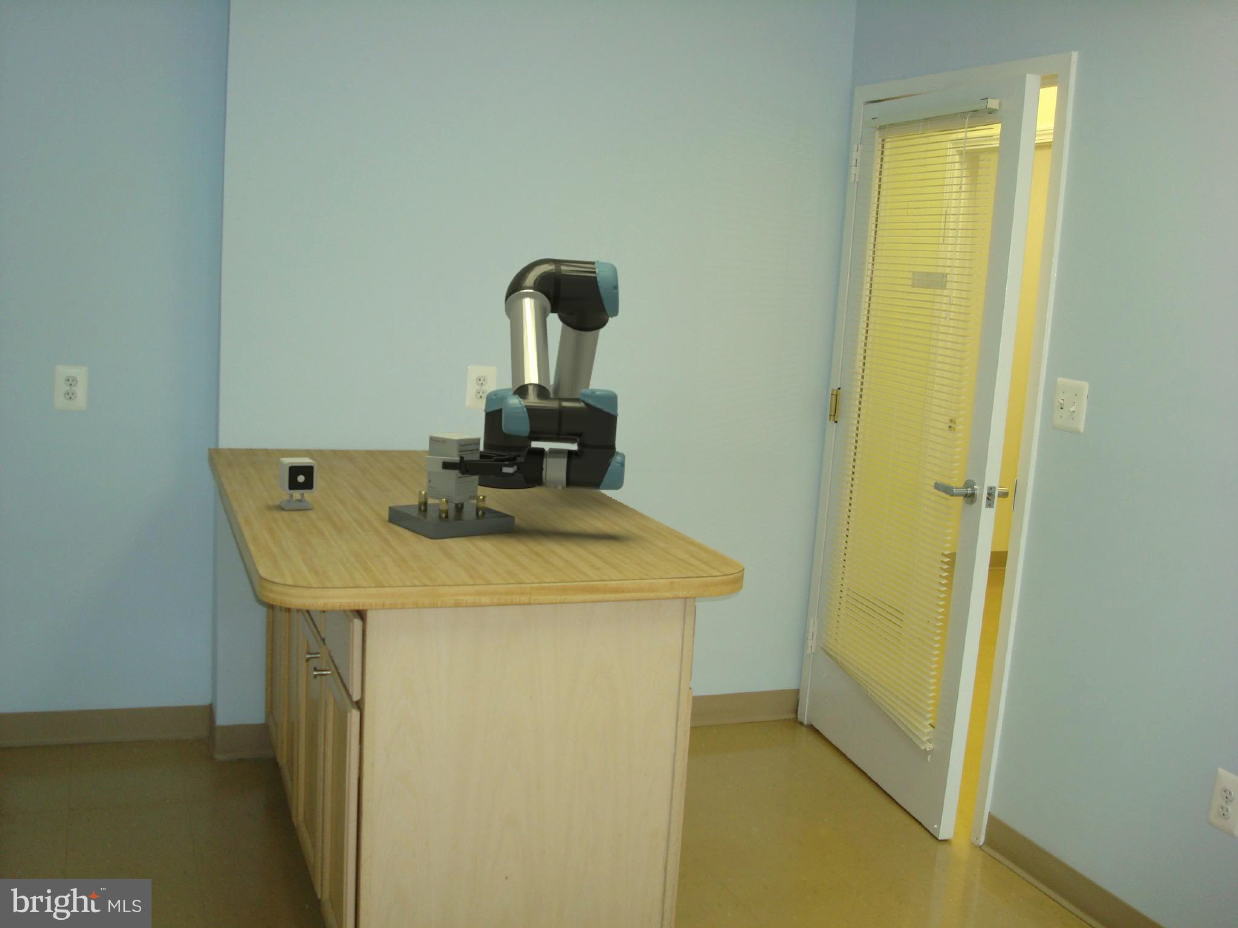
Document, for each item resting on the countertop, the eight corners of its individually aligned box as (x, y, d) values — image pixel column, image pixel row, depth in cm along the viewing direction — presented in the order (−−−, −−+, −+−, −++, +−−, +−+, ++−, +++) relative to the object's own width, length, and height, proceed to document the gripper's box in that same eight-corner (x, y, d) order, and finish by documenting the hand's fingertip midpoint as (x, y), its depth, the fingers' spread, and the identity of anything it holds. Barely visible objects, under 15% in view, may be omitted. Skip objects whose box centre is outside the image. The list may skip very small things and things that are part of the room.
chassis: (467, 514, 240) (468, 483, 239) (514, 531, 226) (516, 498, 225) (388, 521, 228) (389, 488, 228) (432, 539, 215) (433, 504, 214)
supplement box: (425, 498, 225) (427, 434, 223) (449, 494, 231) (452, 432, 229) (454, 504, 221) (457, 438, 219) (478, 499, 227) (481, 436, 226)
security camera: (284, 511, 232) (285, 462, 231) (277, 505, 238) (278, 457, 237) (316, 510, 235) (317, 461, 233) (308, 504, 241) (309, 456, 240)
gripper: (538, 495, 214) (418, 487, 215) (549, 477, 236) (441, 470, 237) (540, 455, 213) (420, 447, 214) (551, 441, 235) (442, 434, 236)
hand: (431, 459), depth 225 cm, fingers closed on supplement box, 10 cm apart
